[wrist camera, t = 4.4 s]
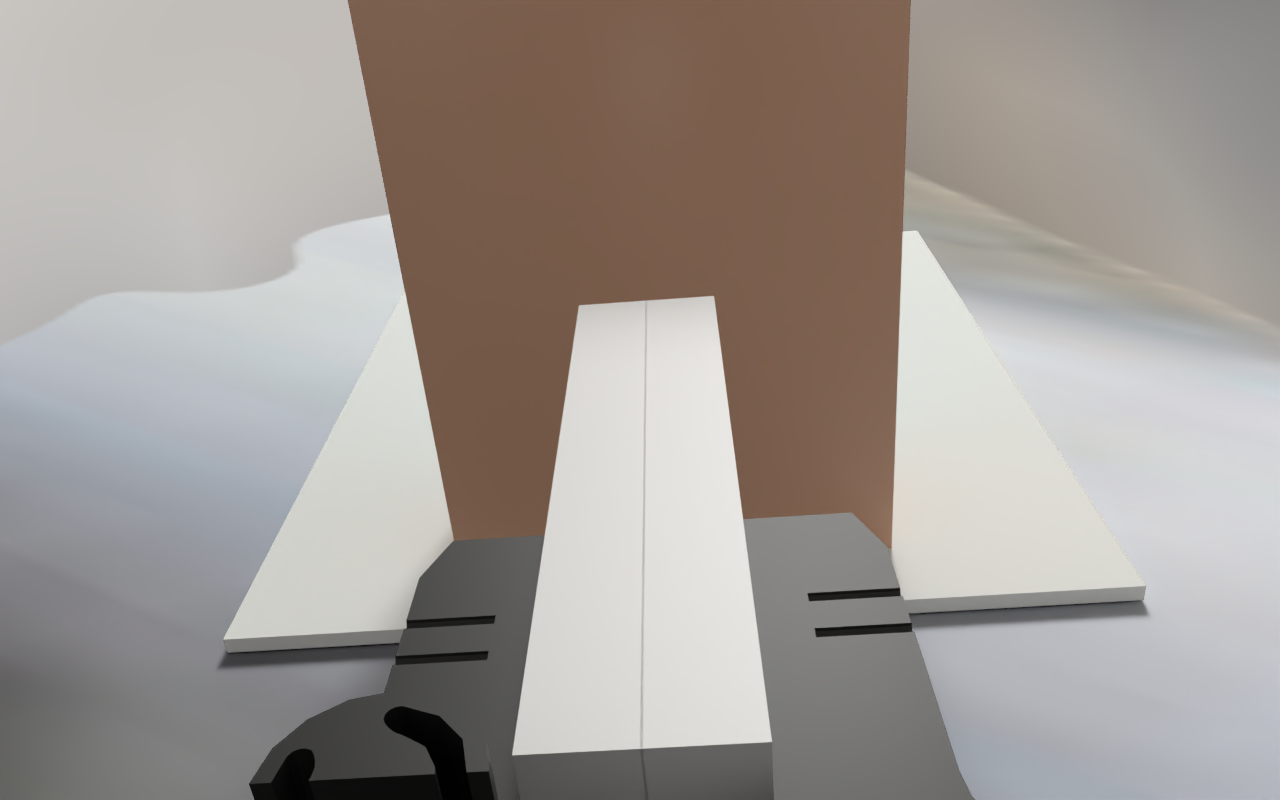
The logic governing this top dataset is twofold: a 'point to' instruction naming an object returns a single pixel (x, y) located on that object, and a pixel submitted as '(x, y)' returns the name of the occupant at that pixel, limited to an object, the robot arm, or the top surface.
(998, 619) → the top surface
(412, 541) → the mat
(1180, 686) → the top surface
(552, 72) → the block
